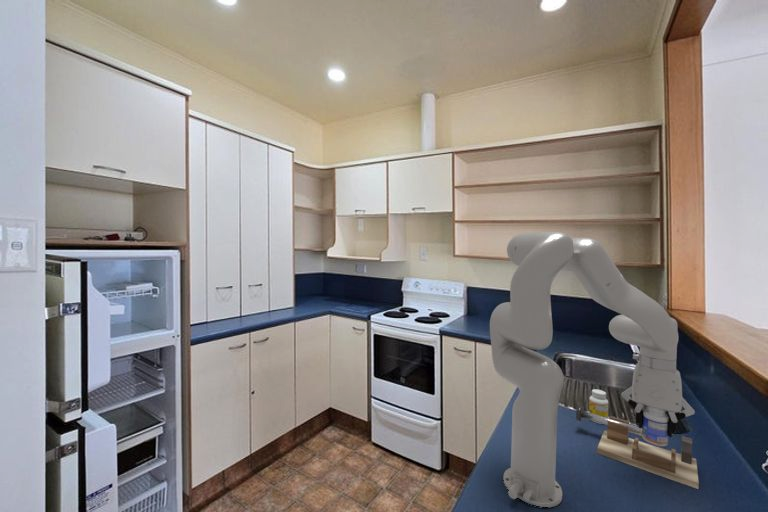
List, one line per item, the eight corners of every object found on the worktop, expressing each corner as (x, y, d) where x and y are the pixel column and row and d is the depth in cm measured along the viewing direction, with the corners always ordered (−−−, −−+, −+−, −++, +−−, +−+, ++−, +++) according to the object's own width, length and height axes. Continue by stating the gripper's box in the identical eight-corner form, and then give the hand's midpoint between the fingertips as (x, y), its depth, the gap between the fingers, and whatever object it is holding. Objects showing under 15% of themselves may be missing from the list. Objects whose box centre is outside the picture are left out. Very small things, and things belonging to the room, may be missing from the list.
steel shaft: (646, 444, 91) (647, 428, 91) (575, 422, 103) (576, 408, 103) (647, 438, 95) (648, 422, 95) (579, 417, 106) (579, 403, 106)
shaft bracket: (698, 489, 79) (699, 460, 79) (597, 453, 92) (597, 428, 92) (695, 464, 88) (697, 438, 88) (604, 435, 102) (605, 412, 102)
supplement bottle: (609, 426, 107) (610, 396, 107) (589, 422, 110) (590, 393, 109) (606, 418, 112) (607, 390, 112) (587, 414, 115) (588, 387, 114)
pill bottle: (642, 433, 92) (643, 398, 92) (667, 440, 89) (668, 404, 88) (641, 441, 88) (642, 405, 88) (668, 449, 84) (669, 411, 84)
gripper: (616, 358, 91) (614, 424, 91) (703, 375, 79) (700, 450, 80) (619, 352, 96) (617, 414, 97) (701, 367, 85) (698, 437, 85)
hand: (655, 429), depth 88 cm, fingers closed on pill bottle, 5 cm apart
